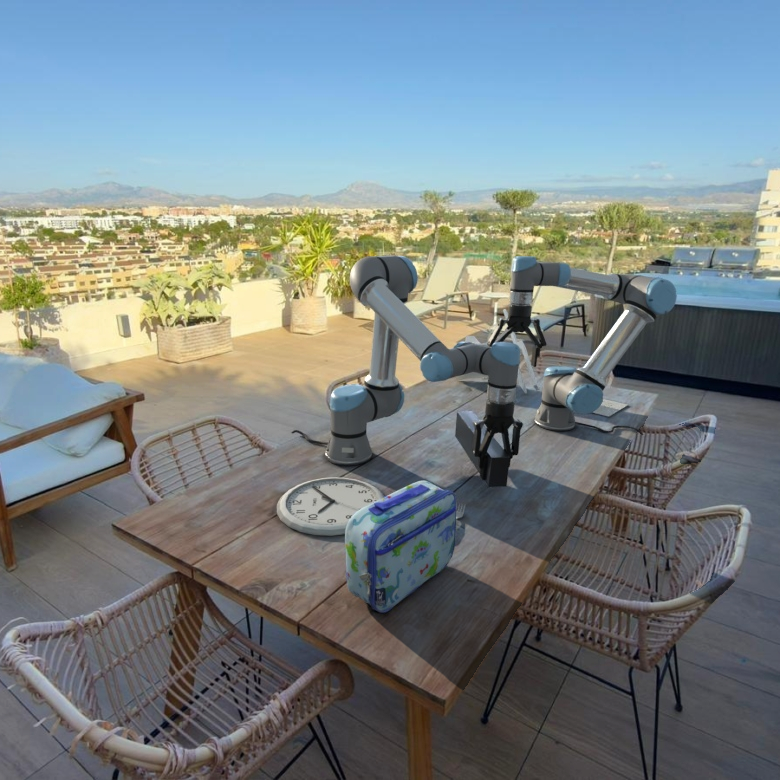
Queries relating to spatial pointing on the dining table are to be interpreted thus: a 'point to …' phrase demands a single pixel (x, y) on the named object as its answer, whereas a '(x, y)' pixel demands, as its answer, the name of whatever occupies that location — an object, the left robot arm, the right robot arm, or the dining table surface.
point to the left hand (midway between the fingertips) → (492, 477)
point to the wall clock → (325, 504)
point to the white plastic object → (520, 378)
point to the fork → (459, 514)
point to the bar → (495, 452)
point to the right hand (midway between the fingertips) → (514, 366)
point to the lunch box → (399, 543)
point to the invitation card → (609, 407)
